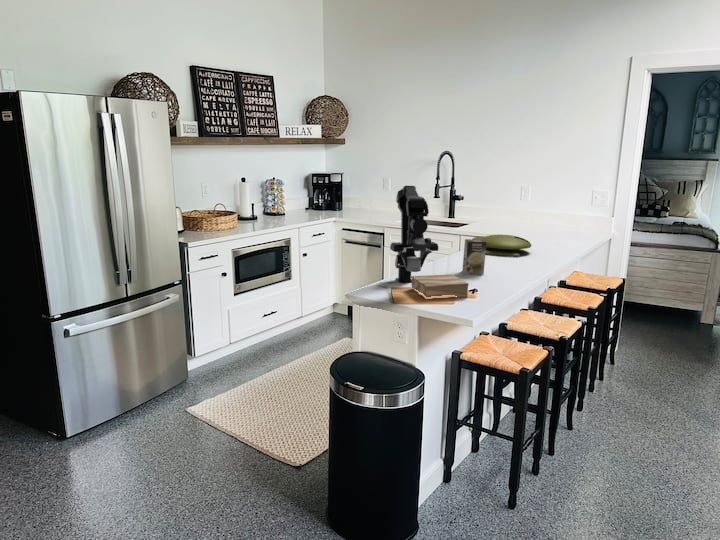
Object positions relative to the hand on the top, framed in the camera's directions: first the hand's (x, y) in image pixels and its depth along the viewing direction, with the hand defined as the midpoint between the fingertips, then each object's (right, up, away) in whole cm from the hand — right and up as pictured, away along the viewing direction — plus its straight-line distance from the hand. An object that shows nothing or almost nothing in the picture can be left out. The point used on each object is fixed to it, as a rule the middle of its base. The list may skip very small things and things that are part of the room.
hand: (413, 267), depth 215 cm
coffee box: (+33, -3, +40) cm, 52 cm away
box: (+11, -11, +4) cm, 16 cm away
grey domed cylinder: (0, -1, 0) cm, 1 cm away
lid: (+11, -6, +3) cm, 13 cm away
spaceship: (+60, +10, +97) cm, 114 cm away
